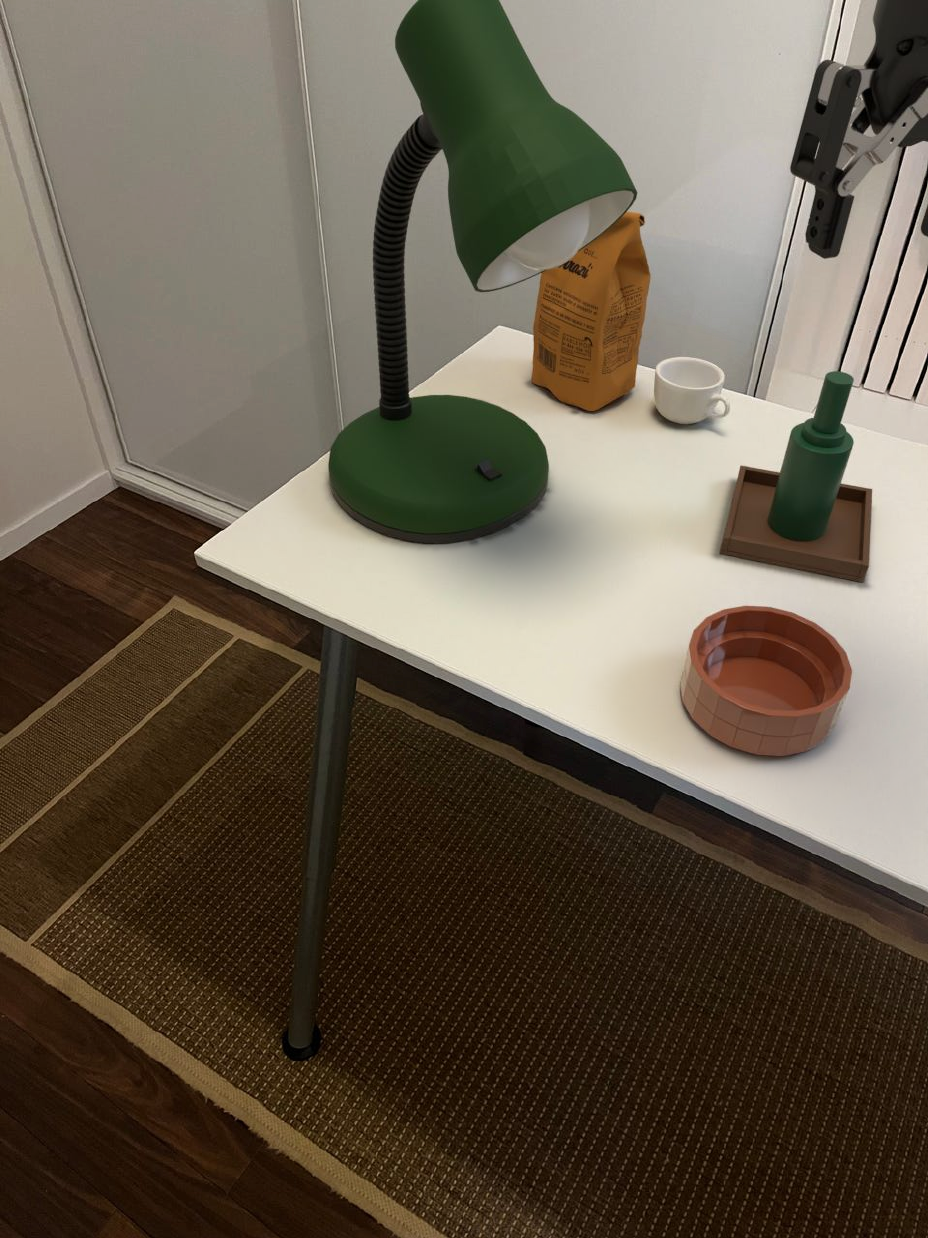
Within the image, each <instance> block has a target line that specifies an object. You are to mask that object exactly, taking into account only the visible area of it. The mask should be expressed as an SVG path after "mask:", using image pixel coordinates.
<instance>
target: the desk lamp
mask: <svg viewBox="0 0 928 1238" xmlns="http://www.w3.org/2000/svg"><path fill="white" fill-rule="evenodd" d="M394 47H395V52H396V54H397V56H398V59H399V61H400V63H401V66H402V68H403V69H404V71H405V73H406V75H407V77H408V80H409V81H410V84H411V86H412V88H413V89H414V92H415V93H416V96H417V97H418V100H419V105H420V109H421V112H422V114H421V115H419V116H418V117H417V118H416V119H415V120H414V121H413V122H412V124H411V125H410V126H409V128H408V129H407V130H406V131H405V133H404V134H403V135H402V137H401V139H400V140H399V141H398V143H397V145H396V146H395V148H394V150H393V152H392V154H391V156H390V157H389V160H388V163H387V166H386V169H385V171H384V176H383V178H382V180H381V181H382V182H381V186H380V191H379V194H378V201H377V208H376V212H375V214H376V215H375V218H374V219H375V223H374V227H373V240H372V263H373V264H372V271H373V272H372V278H373V295H374V309H375V325H376V329H375V330H376V339H377V340H376V344H377V359H378V374H379V375H378V377H379V387H380V388H379V391H380V398H379V400H378V407H376V408H374V409H372V410H369V411H367V412H365V413H363V414H361V415H360V416H358V417H357V418H355V419H354V420H352V421H350V423H348V424H347V425H346V426H345V427H344V428H343V429H342V430H341V431H340V432H339V433H338V434H337V436H336V437H335V439H334V441H333V443H332V444H331V446H330V449H329V457H328V465H327V466H328V467H327V469H328V477H329V485H330V488H331V492H332V495H333V496H334V498H335V500H336V501H337V503H338V504H339V506H340V507H341V508H342V509H343V510H344V511H345V512H346V513H347V514H348V515H349V516H350V517H351V518H353V519H354V520H356V521H358V522H359V523H361V524H362V525H363V526H365V527H367V528H369V529H371V530H374V531H376V532H378V533H380V534H383V535H385V536H388V537H391V538H396V539H399V540H403V541H407V542H414V543H415V542H416V543H421V544H422V543H423V544H449V543H455V542H461V541H469V540H474V539H476V538H480V537H484V536H487V535H491V534H493V533H496V532H498V531H500V530H502V529H505V528H507V527H509V526H511V525H513V524H514V523H516V522H518V521H519V520H521V519H522V518H524V517H526V516H527V515H528V514H529V513H531V511H532V510H534V509H535V508H536V507H537V506H538V505H539V504H540V502H541V501H542V499H543V497H544V496H545V494H546V492H547V491H546V490H547V487H548V483H549V472H550V463H549V457H548V452H547V447H546V445H545V443H544V442H543V440H542V439H541V437H540V436H539V434H538V432H537V431H536V430H535V429H533V427H532V426H531V425H529V423H528V422H527V421H525V420H524V419H522V418H521V417H519V416H518V415H516V414H515V413H513V412H511V411H509V410H507V409H505V408H504V407H501V406H499V405H497V404H494V403H491V402H488V401H486V400H483V399H478V398H473V397H469V396H462V395H454V394H453V395H452V394H428V395H421V396H419V395H418V396H413V397H410V387H409V386H410V383H409V382H410V381H409V361H408V359H409V358H408V356H409V354H408V339H407V338H408V332H407V331H408V330H407V310H406V309H407V307H406V306H407V305H406V288H405V287H406V281H405V279H406V275H405V260H406V259H405V255H406V251H405V250H406V241H407V234H408V228H409V221H410V215H411V212H412V206H413V201H414V199H415V194H416V191H417V188H418V186H419V183H420V180H421V178H422V177H423V174H424V173H425V171H426V169H427V168H428V167H429V166H430V163H431V162H432V161H433V160H434V159H435V157H437V155H439V154H440V152H441V151H442V152H443V155H444V157H445V161H446V164H447V171H448V180H447V199H448V208H449V216H450V222H451V228H452V234H453V240H454V246H455V251H456V255H457V257H458V260H459V261H460V264H461V265H462V267H463V270H464V271H465V273H466V275H467V277H468V279H469V281H470V283H471V285H472V287H473V289H474V291H475V292H478V293H491V292H494V291H499V290H502V289H506V288H509V287H511V286H514V285H517V284H519V283H522V282H525V281H526V280H530V279H532V278H534V277H536V276H538V275H541V273H542V272H544V271H546V270H548V269H554V268H557V267H559V266H561V265H562V264H564V263H566V262H567V261H569V260H571V259H572V258H573V257H574V256H575V254H576V253H577V252H579V251H580V250H581V249H583V248H584V247H586V246H587V245H589V244H590V243H591V242H593V241H594V240H595V239H597V238H598V237H599V236H600V235H602V234H603V233H604V232H605V231H607V230H608V229H609V228H610V227H611V226H612V225H614V224H615V223H616V222H617V221H618V220H619V219H620V218H621V217H622V216H623V215H624V214H625V213H626V212H629V210H630V209H631V207H632V206H633V205H634V203H635V201H636V200H637V197H638V190H637V188H636V186H635V184H634V182H633V180H632V178H631V176H630V174H629V172H628V169H627V167H626V166H625V164H624V162H623V160H622V158H621V156H620V155H619V154H618V153H617V152H616V151H615V149H614V148H612V146H611V145H609V143H608V142H607V141H606V140H605V139H603V137H601V135H600V134H599V133H597V131H596V130H594V129H593V128H592V127H591V126H590V125H589V123H587V122H586V121H585V120H584V119H582V118H581V116H579V115H578V114H577V113H575V112H574V111H573V110H571V109H570V108H568V107H566V106H565V105H562V104H560V103H559V102H558V101H556V100H555V99H554V98H553V97H552V96H551V94H550V93H549V91H548V90H547V88H546V87H545V85H544V83H543V81H542V80H541V79H540V76H539V75H538V73H537V71H536V69H535V68H534V65H533V64H532V62H531V60H530V58H529V57H528V56H529V55H528V54H527V52H526V51H525V49H524V46H523V44H522V43H521V41H520V39H519V37H518V35H517V33H516V31H515V29H514V27H513V25H512V23H511V21H510V19H509V17H508V15H507V13H506V11H505V9H504V7H503V5H502V3H501V0H417V1H415V3H414V4H413V5H412V6H411V7H410V9H408V11H407V12H406V14H405V15H404V17H403V18H402V19H401V21H400V24H399V25H398V27H397V30H396V32H395V37H394Z"/></svg>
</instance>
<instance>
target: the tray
mask: <svg viewBox="0 0 928 1238" xmlns="http://www.w3.org/2000/svg"><path fill="white" fill-rule="evenodd" d="M779 474H780V471H774V470H768V469H763V468H757V467H751V466H747V465H740V466H739V470H738V474H737V478H736V482H735V487H734V491H733V495H732V500H731V503H730V507H729V508H730V509H729V512H728V517H727V520H726V525H725V529H724V533H723V538H722V541H721V545H720V546H721V547H720V551H719V554H721V555H726V556H732V557H736V558H741V559H746V560H751V561H756V562H761V563H765V564H769V565H770V564H771V565H775V566H781V567H785V568H791V569H795V570H801V571H804V572H810V573H815V574H820V575H825V576H829V577H835V578H839V579H845V580H849V581H854V582H860V583H864V581H865V578H866V575H867V573H868V570H869V567H870V552H871V550H870V549H871V530H872V527H871V526H872V509H873V508H872V506H873V505H872V504H873V488H868V487H862V486H857V485H851V484H846V483H841V484H840V487H839V491H838V494H837V497H836V500H835V503H834V506H833V509H832V512H831V515H830V518H829V522H828V525H827V528H826V531H825V533H824V534H823V536H821V537H820V538H818V539H816V540H812V541H795V540H790V539H787V538H784V537H782V536H780V535H778V534H777V533H775V532H774V531H773V530H772V529H771V528H770V526H769V524H768V515H769V512H770V508H771V504H772V501H773V497H774V493H775V489H776V486H777V482H778V478H779Z"/></svg>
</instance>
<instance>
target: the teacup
mask: <svg viewBox="0 0 928 1238" xmlns="http://www.w3.org/2000/svg"><path fill="white" fill-rule="evenodd" d="M725 377H726V376H725V372H724V371H723V370H722V368H720V367H719V366H717V365H716V364H714V363H712V362H711V361H708V360H705V359H701V358H697V357H690V356H675V357H670V358H666V359H663V360H662V361H660V362H659V363H657V365H656V366H655V371H654V383H653V385H654V387H653V399H654V400H653V401H654V404H655V408H656V409H657V412H658V413H660V415H661V416H663V417H664V418H665V419H666V420H667V421H669V422H672V423H675V424H680V425H693V424H696V423H700V422H702V421H704V420H706V419H707V418H711V419H722V418H725V417H726V416H728V415H729V413H730V410H731V403H730V401H729V399H728V398H727V397H726V396H725V395H723V394H722V391H723V386H724V383H725ZM719 401H721V402H722V403H723V404H724V412H723V413H717V412H715V409H716V408H717V406H718V404H719Z"/></svg>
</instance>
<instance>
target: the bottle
mask: <svg viewBox="0 0 928 1238" xmlns="http://www.w3.org/2000/svg"><path fill="white" fill-rule="evenodd" d="M854 380H855V379H854V376H852V375H851V374H849V373H848V372H844V371H837V370H833V371H829V372H827V373H826V374H825V376H824V379H823V382H822V387H821V390H820V394H819V397H818V401H817V404H816V408H815V411H814V414H813V417H810V418H807V419H806V420H804V422H802V423H798V424H796V425H794V426H793V428H792V429H791V430H790V433H789V437H788V442H787V445H786V449H785V453H784V456H783V459H782V464H781V468H780V471H779V472H780V474H779V478H778V482H777V486H776V489H775V493H774V497H773V501H772V504H771V508H770V512H769V515H768V524H769V526H770V528H771V529H772V530H773V531H774V532H775V533H777V534H778V535H780V536H782V537H784V538H787V539H790V540H795V541H812V540H816V539H818V538H820V537H821V536H823V534H824V533H825V531H826V528H827V525H828V522H829V518H830V515H831V512H832V509H833V506H834V503H835V500H836V497H837V494H838V491H839V487H840V484H842V481H843V479H844V475H845V472H846V469H847V467H848V462H849V459H850V456H851V454H852V450H853V447H854V444H855V443H854V442H855V441H854V438H853V436H852V434H850V432H848V430H847V428H846V426H845V425H844V423H842V420H843V417H844V413H845V412H846V411H845V410H846V407H847V404H848V400H849V398H850V395H851V391H852V389H853V388H852V387H853V385H854V382H855V381H854Z"/></svg>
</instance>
